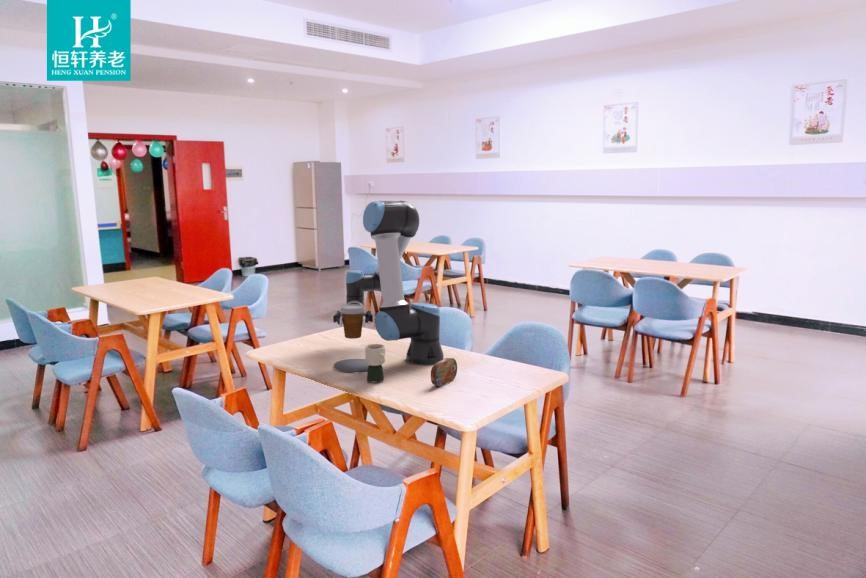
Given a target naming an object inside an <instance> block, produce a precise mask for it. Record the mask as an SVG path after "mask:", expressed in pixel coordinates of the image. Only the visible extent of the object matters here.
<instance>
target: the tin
mask: <svg viewBox="0 0 866 578" xmlns="http://www.w3.org/2000/svg"><path fill="white" fill-rule="evenodd" d="M457 374H458V363H457V361H456V359H455V358H453V357H445V358H444V359H443V360H441V361H439V362H437V363H435V364H432V367H431V369H430V381H431V383H432V385H433V386H435V387H440V388H441V387H444V386H445V385H447V384H448V383H449V384H450V383H451V382H453V380H455V378H456V377H457Z"/></svg>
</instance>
